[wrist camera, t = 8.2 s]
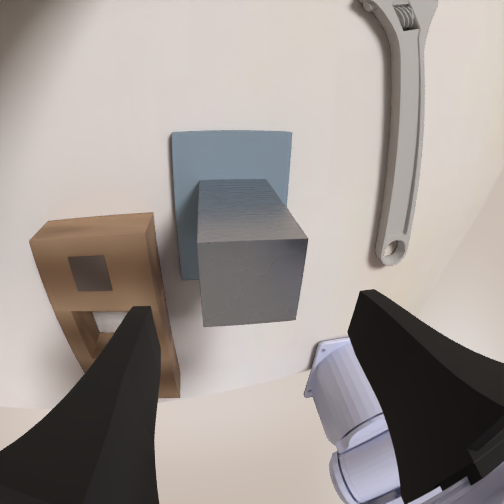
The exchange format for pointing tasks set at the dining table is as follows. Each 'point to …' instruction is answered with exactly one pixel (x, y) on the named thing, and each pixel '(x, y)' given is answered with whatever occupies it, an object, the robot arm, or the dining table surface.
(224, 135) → the slate mat
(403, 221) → the adjustable wrench
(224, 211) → the steel peg
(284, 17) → the dining table surface
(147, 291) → the brown flat rectangular block
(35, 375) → the dining table surface
